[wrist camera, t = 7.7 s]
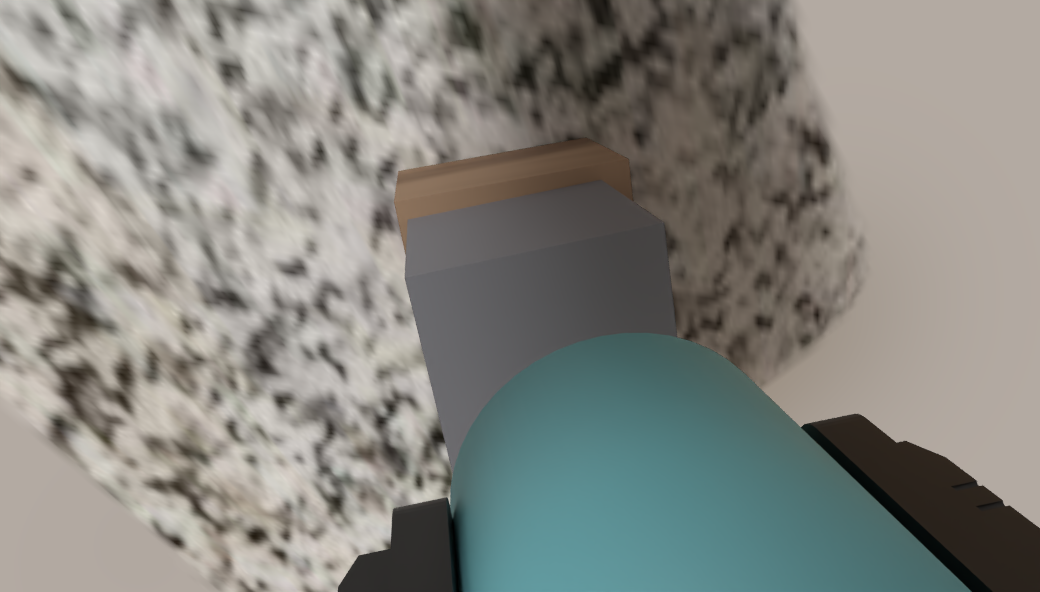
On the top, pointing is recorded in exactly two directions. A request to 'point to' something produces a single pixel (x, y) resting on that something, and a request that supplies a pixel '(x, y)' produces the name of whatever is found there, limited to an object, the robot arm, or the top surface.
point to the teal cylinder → (664, 485)
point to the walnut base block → (506, 177)
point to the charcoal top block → (529, 288)
